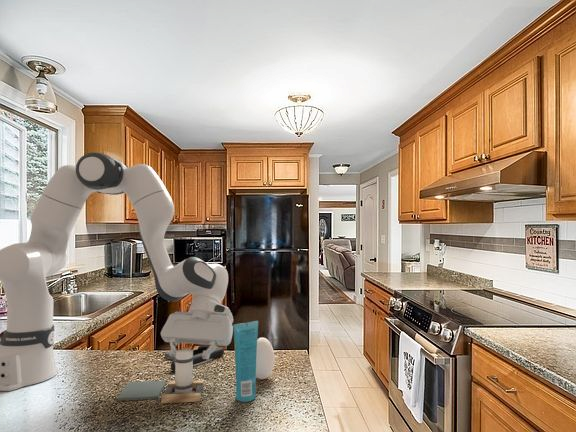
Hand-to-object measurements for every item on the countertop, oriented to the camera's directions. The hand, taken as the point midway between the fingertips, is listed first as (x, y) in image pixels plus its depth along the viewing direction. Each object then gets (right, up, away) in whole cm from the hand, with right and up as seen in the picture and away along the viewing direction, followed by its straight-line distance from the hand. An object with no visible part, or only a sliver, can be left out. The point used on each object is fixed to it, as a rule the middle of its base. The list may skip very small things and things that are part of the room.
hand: (188, 357), depth 99 cm
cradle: (-1, -9, -3) cm, 9 cm away
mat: (-12, -9, -1) cm, 15 cm away
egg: (+19, -9, +8) cm, 23 cm away
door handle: (-6, -10, +24) cm, 27 cm away
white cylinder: (-1, -9, -3) cm, 9 cm away
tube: (+16, -9, -5) cm, 19 cm away
